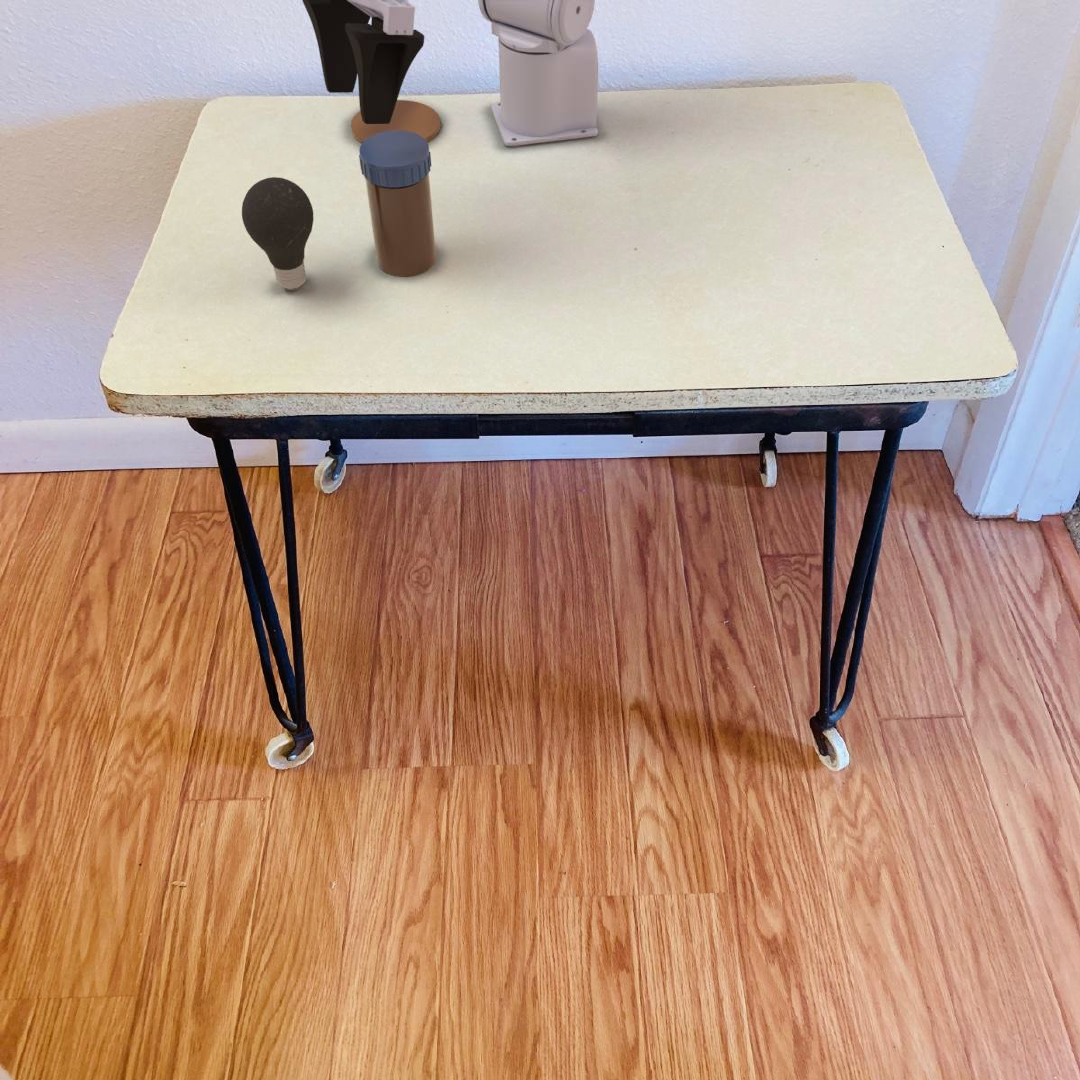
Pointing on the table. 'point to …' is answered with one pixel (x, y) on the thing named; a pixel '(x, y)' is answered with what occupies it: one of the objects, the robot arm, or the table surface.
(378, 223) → the jar
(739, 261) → the table surface
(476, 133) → the table surface
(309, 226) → the light bulb
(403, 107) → the coaster
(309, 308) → the table surface
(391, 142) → the jar lid
